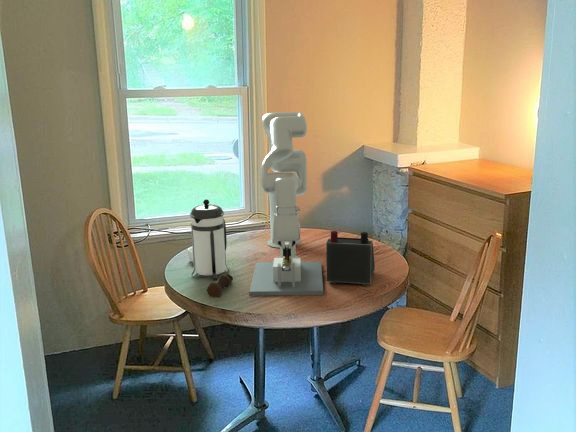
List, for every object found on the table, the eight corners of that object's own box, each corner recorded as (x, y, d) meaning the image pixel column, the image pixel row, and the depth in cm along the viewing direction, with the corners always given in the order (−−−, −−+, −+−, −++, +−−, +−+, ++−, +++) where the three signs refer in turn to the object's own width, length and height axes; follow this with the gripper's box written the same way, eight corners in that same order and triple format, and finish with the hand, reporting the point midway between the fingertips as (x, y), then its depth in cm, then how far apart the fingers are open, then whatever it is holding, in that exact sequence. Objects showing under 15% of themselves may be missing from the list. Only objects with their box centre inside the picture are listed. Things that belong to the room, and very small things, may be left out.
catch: (280, 263, 234) (280, 236, 231) (295, 263, 234) (295, 235, 231) (280, 268, 227) (279, 240, 225) (295, 268, 227) (295, 240, 224)
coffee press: (236, 278, 223) (232, 201, 216) (194, 283, 219) (188, 205, 211) (227, 263, 239) (223, 192, 232) (188, 268, 235) (183, 195, 227)
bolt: (231, 287, 220) (216, 301, 206) (220, 280, 220) (204, 293, 206) (238, 275, 218) (223, 288, 204) (227, 267, 218) (211, 280, 204)
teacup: (205, 264, 240) (204, 251, 239) (186, 264, 240) (186, 251, 239) (209, 256, 250) (208, 244, 248) (191, 256, 250) (190, 244, 249)
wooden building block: (283, 280, 222) (283, 253, 225) (291, 280, 221) (291, 253, 225) (281, 270, 208) (281, 241, 212) (290, 270, 208) (290, 241, 211)
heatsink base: (256, 265, 236) (255, 243, 234) (320, 265, 236) (320, 242, 233) (249, 295, 206) (248, 270, 204) (323, 294, 206) (323, 269, 203)
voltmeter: (374, 272, 227) (375, 222, 222) (370, 287, 211) (371, 234, 206) (333, 269, 230) (333, 220, 225) (326, 284, 215) (326, 232, 210)
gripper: (306, 207, 218) (307, 254, 223) (266, 208, 218) (267, 255, 223) (306, 212, 211) (307, 260, 215) (264, 213, 211) (266, 261, 216)
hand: (287, 257), depth 219 cm, fingers closed
